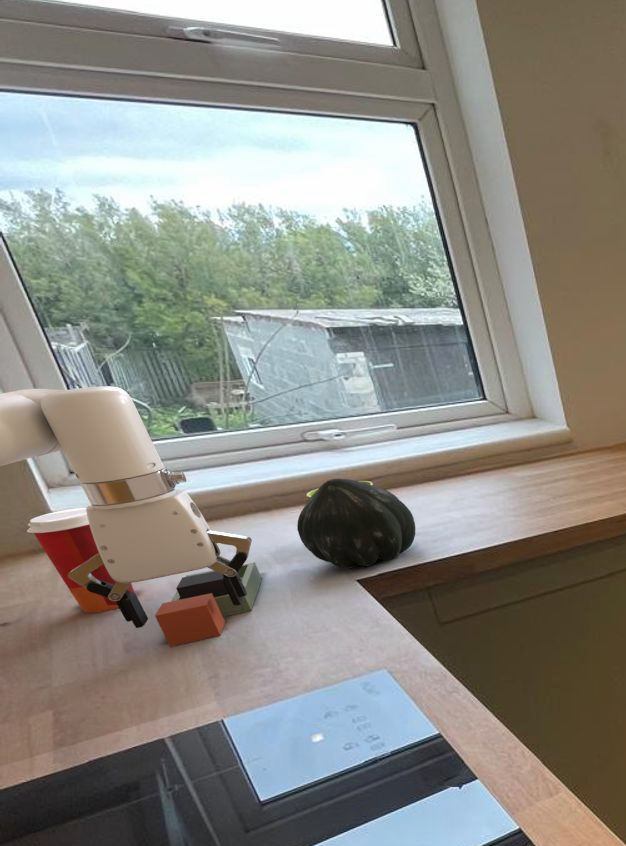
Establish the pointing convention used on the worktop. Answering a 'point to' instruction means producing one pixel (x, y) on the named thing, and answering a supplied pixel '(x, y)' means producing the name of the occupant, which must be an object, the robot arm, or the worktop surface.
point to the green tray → (251, 584)
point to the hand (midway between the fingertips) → (192, 612)
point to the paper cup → (72, 553)
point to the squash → (355, 524)
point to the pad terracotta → (190, 619)
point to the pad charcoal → (202, 585)
